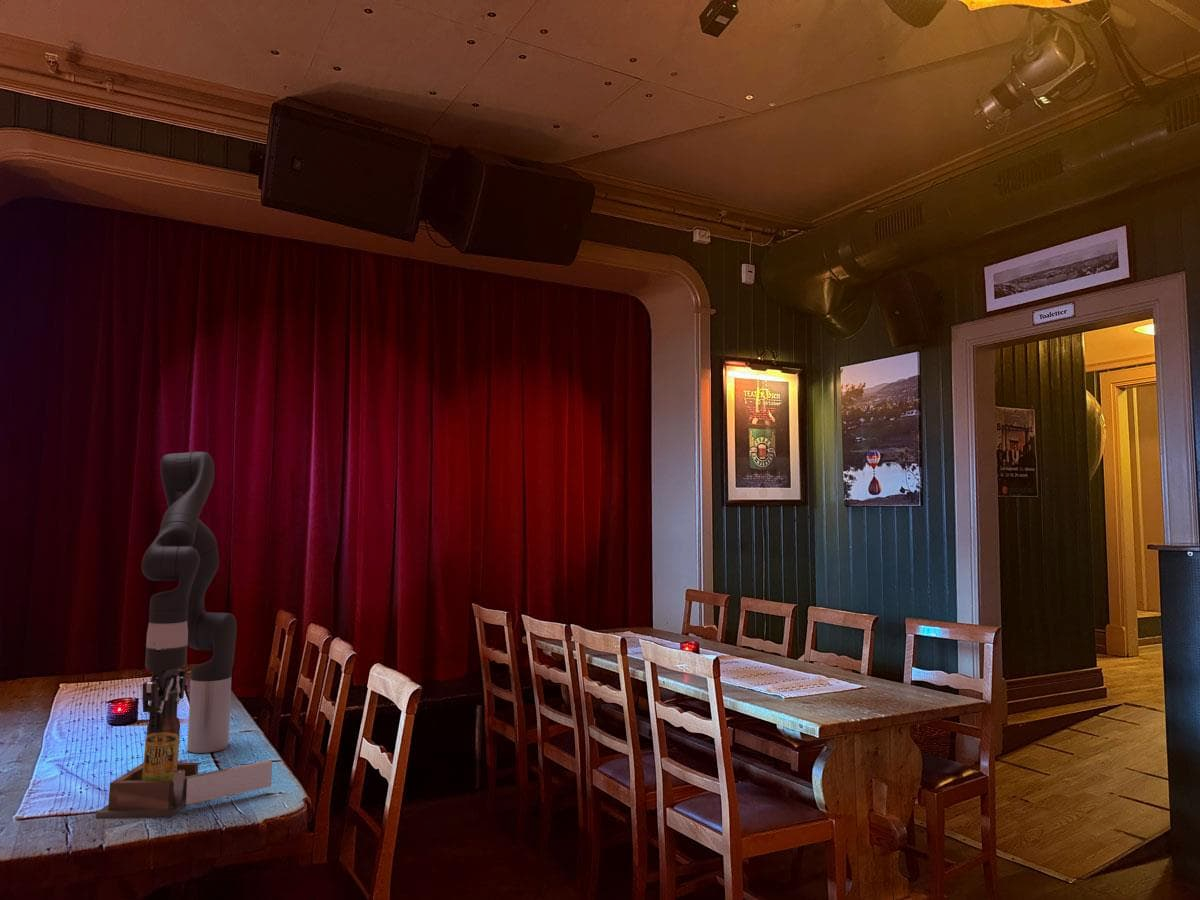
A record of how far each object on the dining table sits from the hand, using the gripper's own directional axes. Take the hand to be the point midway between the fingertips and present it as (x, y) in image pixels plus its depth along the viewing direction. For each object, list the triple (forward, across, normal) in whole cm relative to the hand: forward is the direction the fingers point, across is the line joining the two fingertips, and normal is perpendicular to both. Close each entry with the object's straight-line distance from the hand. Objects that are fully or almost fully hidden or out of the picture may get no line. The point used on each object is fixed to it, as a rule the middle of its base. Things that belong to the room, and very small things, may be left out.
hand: (162, 727), depth 167 cm
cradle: (+15, 0, 0) cm, 15 cm away
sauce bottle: (+13, 0, 0) cm, 13 cm away
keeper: (+13, 0, +13) cm, 19 cm away
